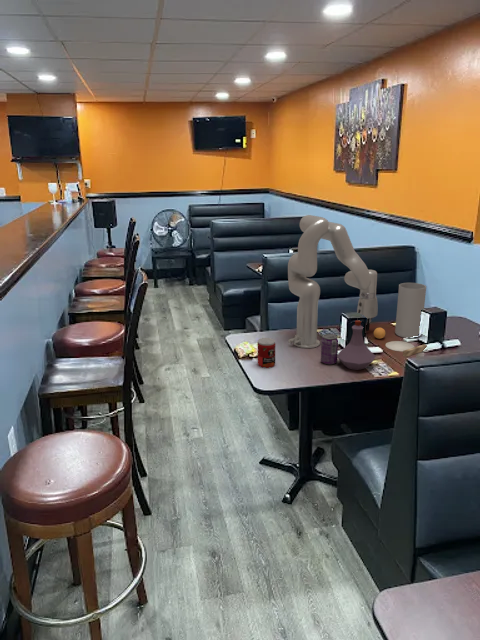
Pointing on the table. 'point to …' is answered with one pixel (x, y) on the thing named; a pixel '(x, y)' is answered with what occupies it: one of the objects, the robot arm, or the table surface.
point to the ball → (379, 333)
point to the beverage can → (329, 349)
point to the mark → (399, 345)
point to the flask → (356, 350)
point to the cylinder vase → (409, 309)
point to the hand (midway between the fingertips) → (365, 330)
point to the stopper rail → (414, 350)
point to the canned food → (266, 352)
